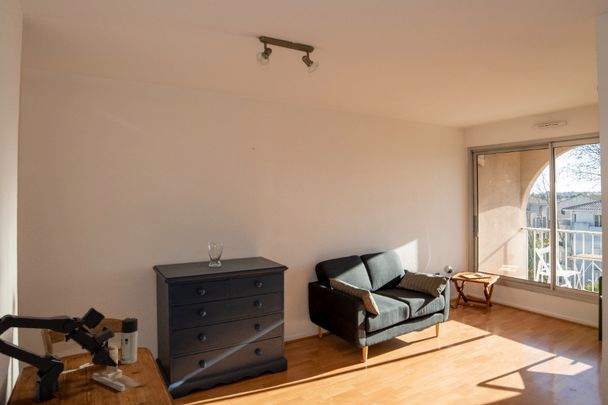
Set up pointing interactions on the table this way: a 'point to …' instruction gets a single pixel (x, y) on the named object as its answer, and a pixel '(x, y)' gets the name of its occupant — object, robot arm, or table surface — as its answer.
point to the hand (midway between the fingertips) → (115, 361)
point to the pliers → (76, 369)
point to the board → (117, 382)
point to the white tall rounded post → (111, 371)
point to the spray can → (129, 340)
